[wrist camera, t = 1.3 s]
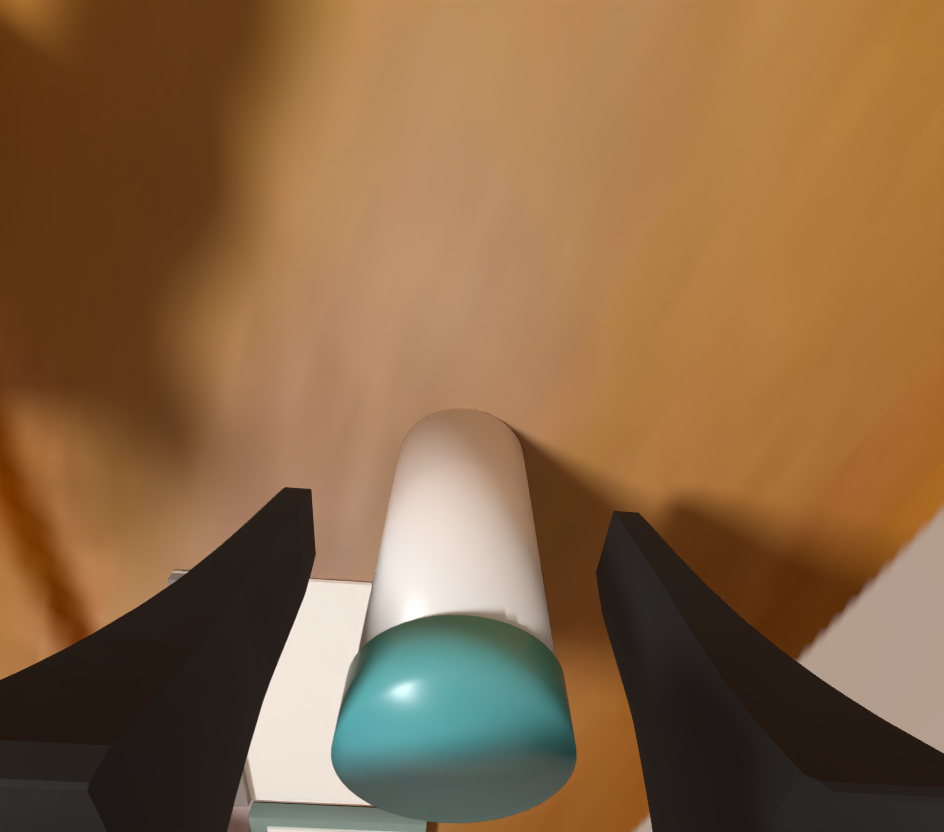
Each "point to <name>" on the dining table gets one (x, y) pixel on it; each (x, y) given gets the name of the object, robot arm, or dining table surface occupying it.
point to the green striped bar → (327, 819)
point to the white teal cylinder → (456, 640)
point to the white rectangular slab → (306, 700)
